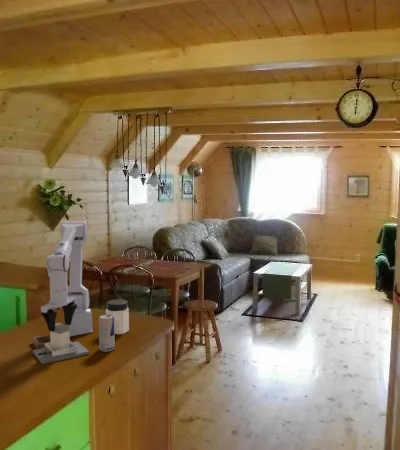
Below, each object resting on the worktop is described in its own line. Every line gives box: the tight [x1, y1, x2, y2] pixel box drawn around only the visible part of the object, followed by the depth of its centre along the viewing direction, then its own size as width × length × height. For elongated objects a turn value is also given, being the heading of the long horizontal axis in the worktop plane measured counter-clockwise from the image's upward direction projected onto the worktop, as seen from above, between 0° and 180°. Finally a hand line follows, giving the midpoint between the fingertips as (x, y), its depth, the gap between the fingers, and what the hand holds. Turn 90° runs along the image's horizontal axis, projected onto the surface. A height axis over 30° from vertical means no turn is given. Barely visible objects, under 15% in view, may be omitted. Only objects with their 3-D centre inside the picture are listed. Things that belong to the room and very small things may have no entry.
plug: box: [49, 322, 71, 351], centre depth 161 cm, size 4×5×9 cm
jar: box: [105, 298, 130, 336], centre depth 184 cm, size 9×8×12 cm
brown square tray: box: [31, 334, 50, 349], centre depth 170 cm, size 7×8×2 cm
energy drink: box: [98, 313, 116, 353], centre depth 165 cm, size 5×5×12 cm
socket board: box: [32, 340, 90, 365], centre depth 162 cm, size 16×12×3 cm
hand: (60, 327), depth 161 cm, fingers open, 7 cm apart
